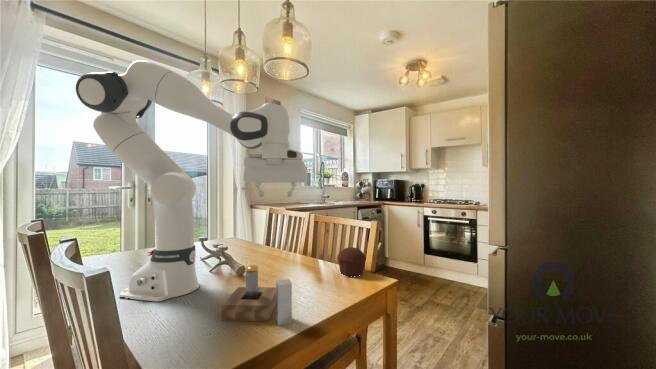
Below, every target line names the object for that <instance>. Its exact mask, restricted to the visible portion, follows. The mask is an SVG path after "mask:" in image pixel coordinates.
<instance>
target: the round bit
mask: <svg viewBox="0 0 656 369" xmlns="http://www.w3.org/2000/svg"><path fill="white" fill-rule="evenodd" d="M245 287H246V299H258V287H259V267H258V265H255V264H251V265H247V266H246V267H245Z"/></svg>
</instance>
